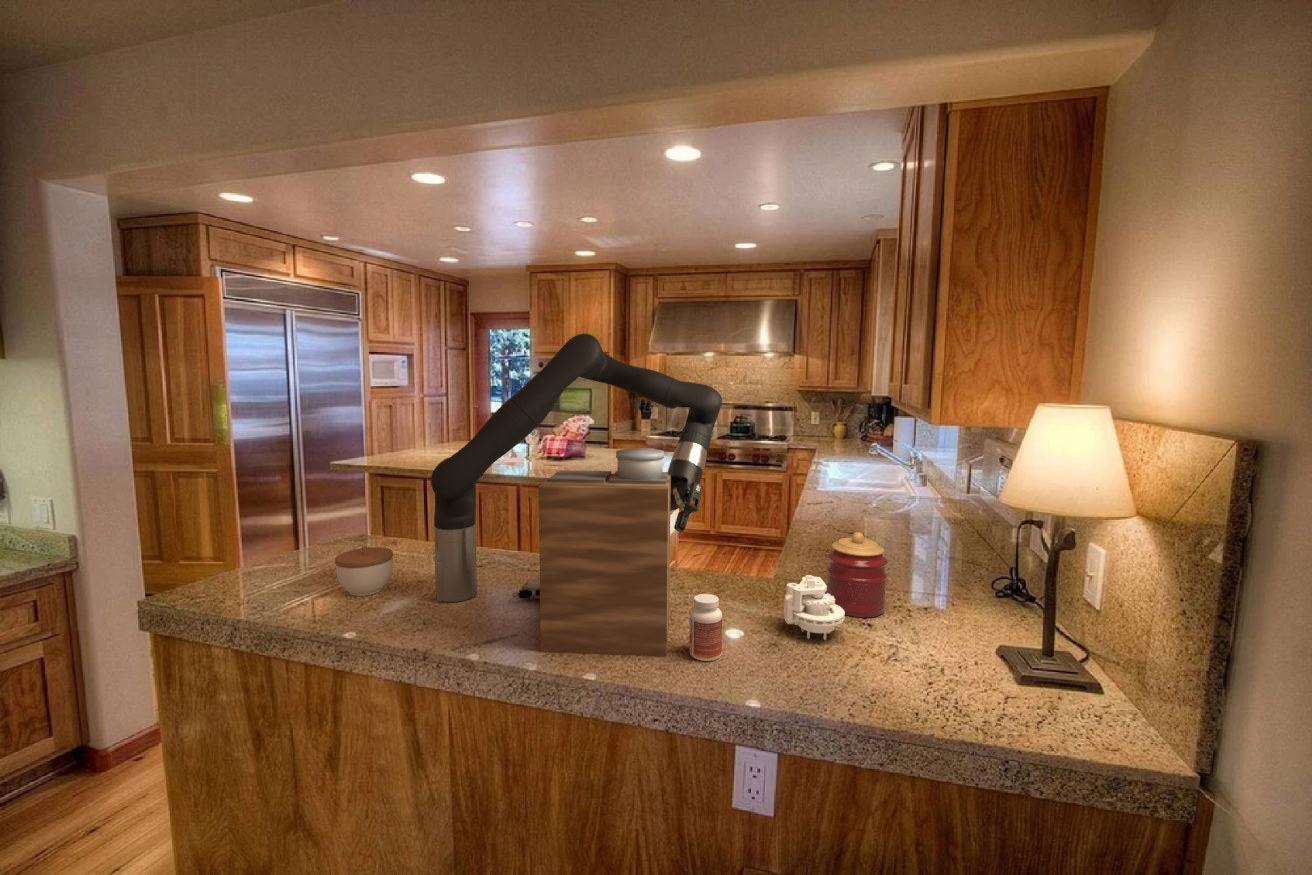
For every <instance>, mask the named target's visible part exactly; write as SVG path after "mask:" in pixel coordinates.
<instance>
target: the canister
mask: <svg viewBox="0 0 1312 875" xmlns="http://www.w3.org/2000/svg"><path fill="white" fill-rule="evenodd" d="M831 548H832V550H831V551H829V552H828V553H827V558H828V559H829V565H828V566H827V583H826V585H827V590H826V592H825V594H827V593H828V594H830V595H831V596H833V597H834V599H835V603H834V604H836V605H838V606H840V607H841V608H842V609H843V610H844V612H845V615H844V616H848V617H853V618H874V617H878V616H881V615H883V614H884V612H885V608H886V603H887V602H886V587H887V586H886V584H887V577H888V576H887V574H888V573H887V572H886V565H888V563H889V561H888V558H886V557H885V556H884V555H883V554H884V553H885V549H884V548H883V547H882V546H881V545H879V544H878V543H877V542H876V541H874V540H871V539H869V538H865V536H864V534H863V533H862V532H859V531H858V532H857V531H856V532H854V533H853V534H852V536H851V537H842V538H840V539H838V540H837V541H835V542H833V543H832V544H831Z"/></svg>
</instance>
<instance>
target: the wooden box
mask: <svg viewBox="0 0 1312 875" xmlns="http://www.w3.org/2000/svg"><path fill="white" fill-rule="evenodd" d="M670 501H671V475H668V471H662V477H661V478H658V479H652V480H629V479H622V478H619V477H618V476H617V470H616V471H615V472H614V473H612V470H610V471H609V470H570V469H569V470H568V469H566V470H564V469H563V470H561V469H560V470H558V471H557V472H555V474H553V475H551V476H550V477H549V478H547V479H546V480H545V481H544V482H543V483H541V484H540V485H538V540H539V541H538V546H539V550H538V552H539V553H538V554H539V578H540V599H539V619H540V620H539V621H540V626H539V627H540V628H539V629H540V630H539V632H540V652H541V653H560V654H561V653H567V654H594V655H596V654H597V655H621V656H623V655H624V656H647V657H648V656H650V657H667V650H668V638H669V627H670V599H671V598H670V587H671V585H670V582H671V580H670V578H671V577H670V576H671V574H670V573H671V572H670V571H671V570H670V569H671V568H670V567H671V515H670Z"/></svg>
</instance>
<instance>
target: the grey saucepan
mask: <svg viewBox="0 0 1312 875" xmlns="http://www.w3.org/2000/svg"><path fill="white" fill-rule="evenodd" d="M664 458H665V451H664V450H661V449H657V448H654V447H640V448H639V447H638V448H624V449H618V450H616V451H615V459H617V460H616V461H617V462H616V463H617V465H616V466H617V467H616V468H617V470H616V471H617V476H618V477H619V478H622V479H629V480H652V479H658V478H661V477H662V472H663V459H664Z"/></svg>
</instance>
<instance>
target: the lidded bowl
mask: <svg viewBox="0 0 1312 875" xmlns="http://www.w3.org/2000/svg"><path fill="white" fill-rule="evenodd" d="M393 559H394V552H393V550H392V549H391V548H388V547H379V546H378V547H377V546H375V547H374V546H373V547H372V546H371V547H368V546H367V545H364V546H363V545H362V546H361V548H356V549H355V548H354V549H351V550H348V551H344V552H342V553H339V554H338V555H336V556H335V558H334V563H335V571H336V576H337V580H338V583H339V585H340V586H341V587H342V589H343V590H345V591H346V592H348V593H349V595H350V596H353V597H366V596H371V595H375V594H377V593H380V592H381V591H382V590H383V588H384V587H385V586H386V585H387V583H388V582H389V580H390V579H391V576H392V572H393V565H394V564H393V563H394V560H393Z"/></svg>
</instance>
